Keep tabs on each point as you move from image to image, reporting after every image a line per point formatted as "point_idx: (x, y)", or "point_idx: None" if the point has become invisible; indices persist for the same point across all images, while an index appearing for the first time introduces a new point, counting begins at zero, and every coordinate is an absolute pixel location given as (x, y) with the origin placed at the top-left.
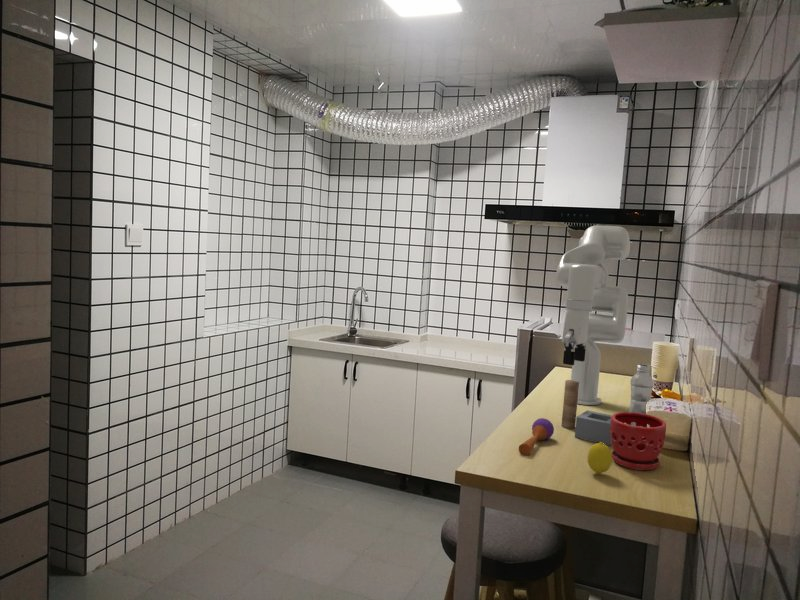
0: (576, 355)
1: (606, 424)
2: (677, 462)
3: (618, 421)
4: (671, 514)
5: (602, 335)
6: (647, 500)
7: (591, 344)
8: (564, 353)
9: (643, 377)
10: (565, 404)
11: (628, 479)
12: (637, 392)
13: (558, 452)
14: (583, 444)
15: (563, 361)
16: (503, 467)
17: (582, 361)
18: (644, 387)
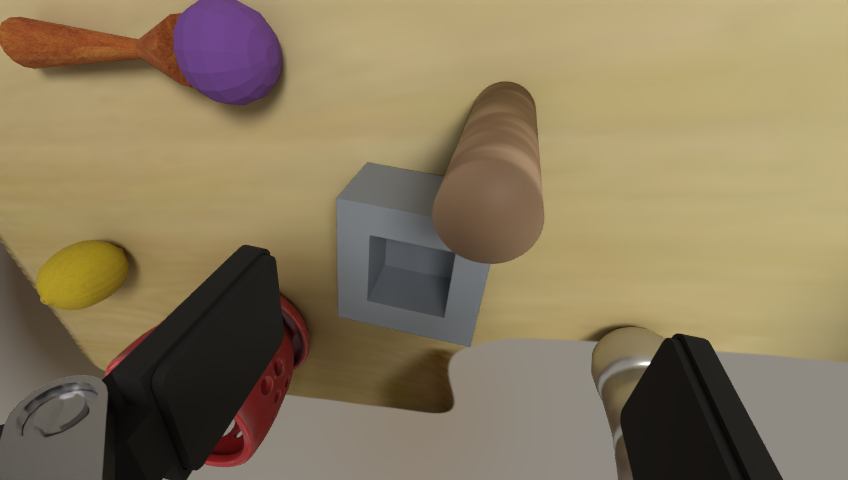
0: (677, 411)
1: (339, 298)
2: (352, 393)
3: (109, 371)
4: (81, 350)
5: None
6: (95, 326)
7: None
8: (157, 338)
9: None
10: (464, 129)
11: (157, 303)
12: (624, 477)
13: (170, 138)
14: (311, 198)
15: (233, 259)
16: None
17: (630, 405)
18: None
